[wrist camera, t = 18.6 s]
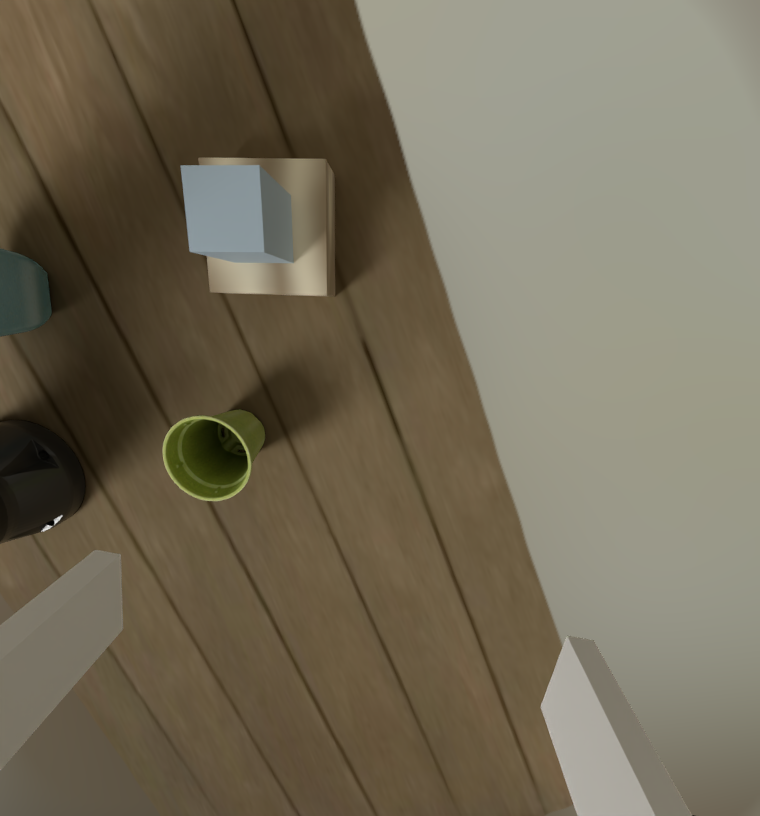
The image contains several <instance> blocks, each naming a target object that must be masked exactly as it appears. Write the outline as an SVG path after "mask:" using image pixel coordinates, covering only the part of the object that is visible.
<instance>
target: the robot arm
mask: <svg viewBox="0 0 760 816" xmlns="http://www.w3.org/2000/svg"><path fill="white" fill-rule="evenodd" d="M84 493H85V480H84V475H83V471H82V468H81V466H80V463H79V461H78V459H77V458H76V456H75V454H74V453H73V452H72V450H71V449H70V448H69V447H68V445H67V444H66V443H65V442H64V441H63V440H62V439H60V438H59V437H58V436H57V435H55V434H54V433H53V432H51V431H50V430H48V429H46V428H44V427H42V426H40V425H37V424H35V423H31V422H27V421H22V420H7V421H3V422H0V544H1V543H4V542H8V541H11V540H15V539H18V538H22V537H25V536H29V535H32V534H36V533H39V532H43V531H46V530H48V529H51V528H53V527H55V526H57V525H58V524H60V523H61V522H63V521H65V520H66V519H68V518H69V517H71V516H72V515H73V514H74V513H75V512H76V511H77V510H78V508H79V507H80V505H81V503H82V501H83V498H84ZM122 630H123V613H122V579H121V554H116V553H110V552H105V551H99V550H94V551H93V552H92V553H91V554H89V555H88V556H87V557H86V558H84V559H83V560H82V561H81V562H79V563H78V564H77V565H76V566H74V567H73V568H72V569H70V570H69V571H68V572H67V573H65V574H64V575H63V576H62V577H60V578H59V579H58V580H57V581H55V582H54V583H53V584H52V585H50V586H49V587H48V588H47V589H45V590H44V591H43V592H41V593H40V594H39V595H38V596H36V597H35V598H34V599H33V600H31V601H30V602H29V603H28V604H26V605H25V606H24V607H23V608H21V609H20V610H19V611H18V612H16V613H15V614H14V615H12V616H11V617H10V618H9V619H7V620H6V621H5V622H4V623H2V624H1V625H0V770H1V769H2V768H3V767H4V766H5V765H6V763H7V762H8V761H9V760H10V759H11V758H12V757H13V755H14V754H15V753H16V752H17V751H18V750H19V748H20V747H21V746H22V745H23V744H24V742H26V740H27V739H28V738H29V737H30V736H31V735H32V733H33V732H34V731H35V730H36V729H37V728H38V726H39V725H40V724H41V723H42V722H43V720H44V719H45V718H46V717H47V716H48V715H49V714H50V713H51V712H52V710H53V709H54V708H55V707H56V706H57V705H58V703H59V702H60V701H61V700H62V699H63V698H64V696H65V695H66V694H67V693H68V692H69V691H70V690H71V689H72V687H73V686H74V685H75V684H76V683H77V682H78V680H79V679H80V678H81V677H82V676H83V675H84V674H85V672H86V671H87V670H88V669H89V668H90V667H91V665H92V664H93V663H94V662H95V661H96V660H97V659H98V657H99V656H100V655H101V654H102V653H103V652H104V650H105V649H106V648H107V647H108V646H109V645H110V644H111V642H112V641H113V640H114V639H115V638H116V637H117V635H118V634H119V633H120V632H121V631H122ZM541 709H542V712H543V715H544V718H545V721H546V724H547V727H548V730H549V733H550V736H551V739H552V742H553V745H554V748H555V751H556V754H557V757H558V760H559V762H560V765H561V768H562V771H563V774H564V777H565V780H566V783H567V786H568V789H569V792H570V795H571V798H572V801H573V804H574V807H575V809H576V813H577V815H578V816H694V815H691V813H690V811H689V809H688V807H687V806H686V804H685V802H684V800H683V799H682V797H681V795H680V793H679V792H678V790H677V788H676V786H675V784H674V783H673V781H672V779H671V777H670V775H669V774H668V772H667V770H666V768H665V767H664V765H663V763H662V761H661V759H660V758H659V756H658V754H657V752H656V751H655V749H654V747H653V745H652V743H651V742H650V740H649V738H648V736H647V735H646V733H645V731H644V729H643V728H642V726H641V724H640V722H639V720H638V719H637V717H636V715H635V713H634V711H633V710H632V708H631V706H630V704H629V703H628V701H627V699H626V697H625V695H624V694H623V692H622V690H621V688H620V687H619V685H618V683H617V681H616V679H615V678H614V676H613V674H612V672H611V671H610V669H609V667H608V665H607V664H606V662H605V660H604V658H603V656H602V655H601V653H600V651H599V649H598V647H597V646H596V644H595V642H594V640H588V639H583V638H577V637H571V636H567V637H566V640H565V642H564V645H563V648H562V650H561V653H560V656H559V658H558V661H557V664H556V667H555V669H554V672H553V675H552V677H551V680H550V683H549V685H548V688H547V691H546V693H545V696H544V699H543V702H542V704H541Z"/></svg>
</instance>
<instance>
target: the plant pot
mask: <svg viewBox="0 0 760 816" xmlns="http://www.w3.org/2000/svg"><path fill="white" fill-rule="evenodd" d="M222 427H224V434H225V437H223V436H222V433H221V430H222ZM264 441H265V430H264V427H263V425H262V423H261V422H260V421H259V420H258V419H257V418H256V417H255V416H254V415H253V414H252V413H250V412H248V411H244V410H232V411H228V412H225V413H222V414H218V415H215V416H204V415H198V416H191V417H188V418H185V419H183V420H181V421H179V422H177V423H176V424H175V425H174V426H173V427H172V428H171V429H170V430H169V432H168V433H167V435H166V437H165V439H164V443H163V460H164V464H165V467H166V469H167V472H168V473H169V475H170V477H171V478H172V480H173V481H174V482H175V483H176V484H177V485H178V486H179V487H180V488H181V489H182V490H183V491H185V492H186V493H188V494H189V495H191V496H193V497H196V498H199V499H201V500H206V501H221V500H225V499H228V498H230V497H232V496H234V495H236V494H237V493H238V492H240V491H241V490H242V489H243V488H244V486H245V485H246V483H247V482H248V480H249V477H250V475H251V470H252V463H253V461H254V459H255V457H256V456H257V454H258V453H259V451H260V449H261V448H262V446H263V444H264ZM238 449H239V450H245V451H246V452H239V451H238Z"/></svg>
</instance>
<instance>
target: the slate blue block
mask: <svg viewBox="0 0 760 816" xmlns="http://www.w3.org/2000/svg"><path fill="white" fill-rule="evenodd" d="M181 174H182V184H183V193H184V203H185V212H186V221H187V231H188V240H189V250H190V252H193V253H197V254H201V255H205V256H209V257H213V258H217V259H221V260H226V261H230V262H234V263H294V261H293V235H292V210H291V195H290V194H289V193H288V192H287V191H286V190H285V189H284V188H283V187H282V186H281V185H280V184H278V183H277V182H276V181H275V180H274V179H273V178H272V177H271V176H270V175H269V174H268V173H267V172H266V171H265V170H264V169H263V168H262V167H261V166H260V165H181Z"/></svg>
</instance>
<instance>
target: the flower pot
mask: <svg viewBox="0 0 760 816" xmlns="http://www.w3.org/2000/svg"><path fill="white" fill-rule="evenodd" d="M51 315H52V309H51V301H50V293H49V284H48V276H47V273H46V271H45V270H44V269H43V268H42V267H41V266H40V265H39V264H38V263H36V262H35V261H33V260H32V259H30V258H28V257H26V256H24V255H21V254H18V253H15V252H12V251H8V250H4V249H0V336H6V335H11V334H17V333H22V332H27V331H31V330H34V329H36V328H38V327H40V326H42V325H43V324H44V323H45V322H46V321H47V320H48V319H49V318H50V316H51Z"/></svg>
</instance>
